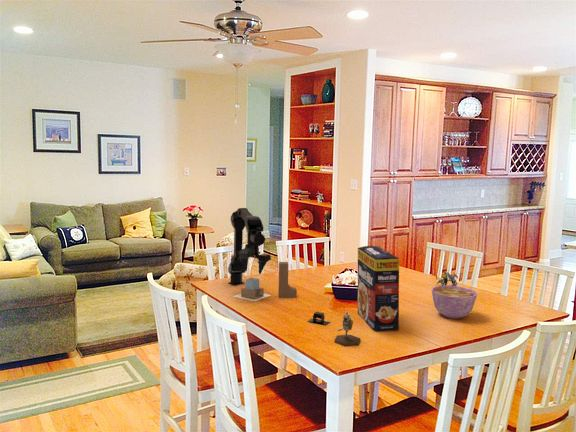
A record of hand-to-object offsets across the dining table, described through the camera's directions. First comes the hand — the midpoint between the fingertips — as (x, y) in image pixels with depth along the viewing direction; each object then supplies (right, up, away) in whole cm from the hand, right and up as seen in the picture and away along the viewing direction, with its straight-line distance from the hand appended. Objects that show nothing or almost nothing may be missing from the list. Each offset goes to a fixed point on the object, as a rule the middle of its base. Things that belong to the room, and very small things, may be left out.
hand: (252, 272), depth 251 cm
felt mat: (0, -13, +3) cm, 13 cm away
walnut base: (0, -12, +2) cm, 12 cm away
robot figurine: (+41, -21, -56) cm, 73 cm away
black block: (+31, -18, -34) cm, 50 cm away
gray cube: (0, -8, +1) cm, 8 cm away
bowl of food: (+94, -18, -22) cm, 98 cm away
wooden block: (+18, -13, +3) cm, 22 cm away
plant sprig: (+107, -12, +27) cm, 111 cm away
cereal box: (+57, -18, -32) cm, 67 cm away
